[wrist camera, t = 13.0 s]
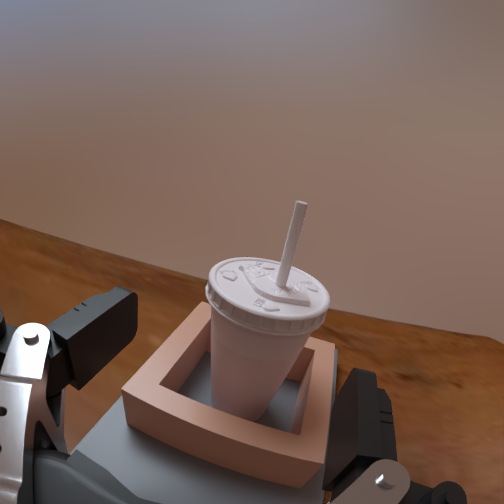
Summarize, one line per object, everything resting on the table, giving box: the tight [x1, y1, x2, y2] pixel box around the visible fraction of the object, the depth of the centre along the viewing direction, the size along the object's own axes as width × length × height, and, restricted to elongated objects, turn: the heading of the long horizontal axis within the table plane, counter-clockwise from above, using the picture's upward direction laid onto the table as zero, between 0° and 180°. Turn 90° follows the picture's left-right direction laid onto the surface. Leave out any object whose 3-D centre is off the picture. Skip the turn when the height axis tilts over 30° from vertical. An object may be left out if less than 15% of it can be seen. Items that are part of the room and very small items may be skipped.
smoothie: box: [206, 201, 330, 422], centre depth 16 cm, size 6×6×14 cm
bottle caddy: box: [70, 302, 338, 504], centre depth 18 cm, size 14×20×5 cm
